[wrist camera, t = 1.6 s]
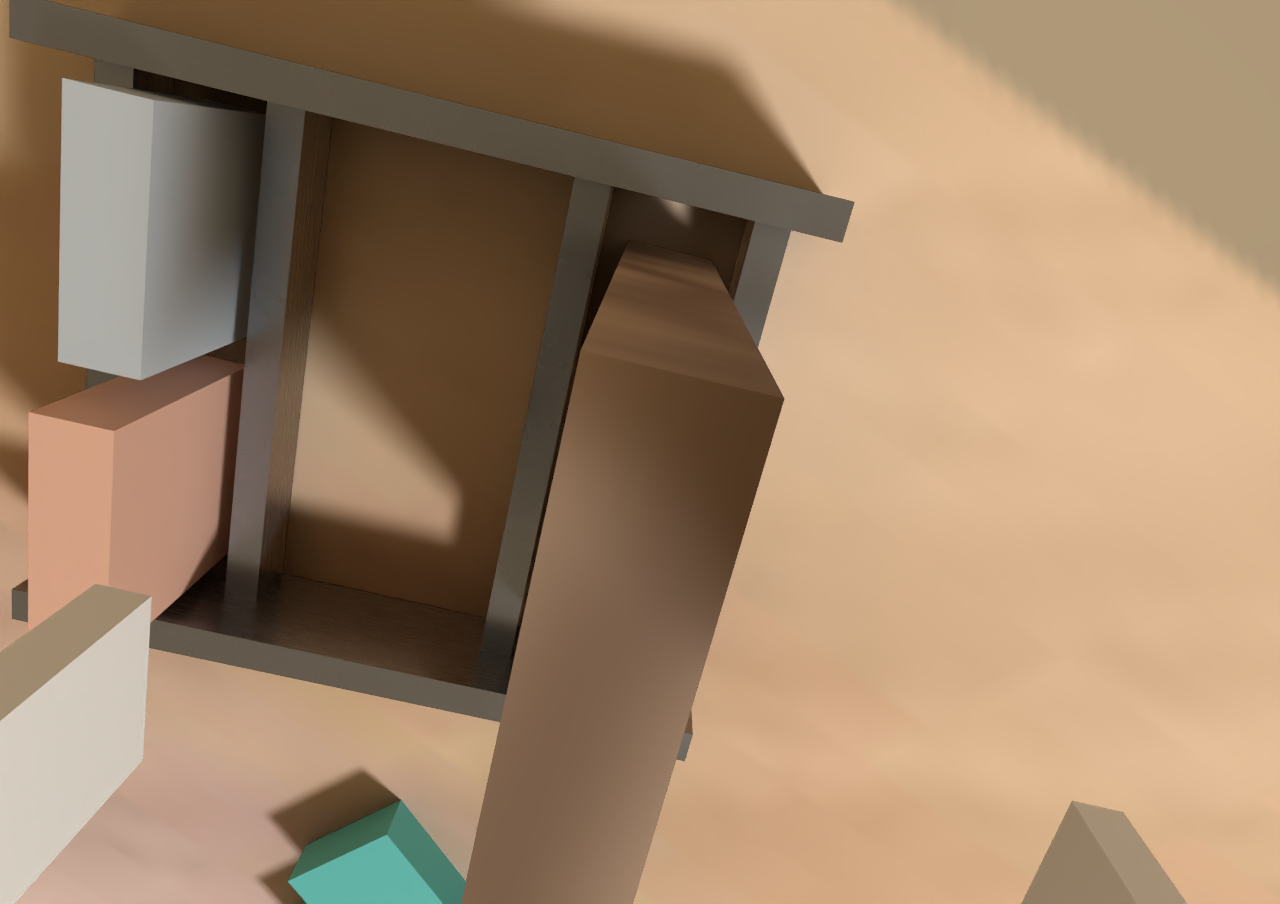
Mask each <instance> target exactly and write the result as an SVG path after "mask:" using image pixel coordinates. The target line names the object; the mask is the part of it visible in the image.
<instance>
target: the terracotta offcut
mask: <svg viewBox="0 0 1280 904" xmlns="http://www.w3.org/2000/svg"><path fill="white" fill-rule="evenodd" d="M244 365H245V364H241V363H236V362H232V361H228V360H223V359H219V358H215V357H210V356H206V355H201V356H199V357H196V358H194V359H192V360H189V361H187V362H184V363H182V364H179V365H177V366H174V367H172V368H170V369H167V370H165V371H162V372H160V373H157V374H155V375H152V376H150V377H148V378H145V379H143V380H137V379H132V378H128V377H123V376H120V377H117V378H115V379H112V380H109V381H107V382H104V383H102V384H99V385H97V386H94V387H92V388H89V389H86V390H84V391H81V392H79V393H76V394H74V395H71V396H68V397H66V398H63V399H61V400H58V401H56V402H53V403H51V404H48V405H45V406H43V407H40V408H38V409H35V410H33V411H30V412H29V459H28V632H29V631H31V630H32V629H33V628H35V627H36V626H38V625H39V624H40V623H42V622H43V621H44V620H46V619H47V618H49V617H50V616H51V615H53V614H54V613H56V612H57V611H58V610H60V609H61V608H62V607H64V606H65V605H67V604H68V603H69V602H71V601H72V600H74V599H75V598H76V597H78V596H79V595H80V594H82V593H83V592H85V591H86V590H87V589H89V588H90V587H92V586H93V585H94V584H99V585H104V586H108V587H113V588H117V589H122V590H126V591H131V592H135V593H140V594H144V595H149V596H152V600H151V618H150V623H151V622H152V621H153V620H154V619H155V618H156V617H158V616H159V615H160V614H161V613H162V612H163V611H164V610H165V609H166V608H168V607H169V606H170V605H171V604H172V603H173V602H174V601H175V600H176V599H178V598H179V597H180V596H181V595H182V594H183V593H184V592H185V591H186V590H188V589H189V588H190V587H191V586H192V585H193V584H194V583H195V582H197V581H198V580H199V579H200V578H201V577H202V576H203V575H204V574H205V573H207V572H208V571H209V570H210V569H211V568H212V567H213V566H214V565H215V564H217V563H218V562H219V561H220V560H221V559H222V558H223V557H224V556H225V555H227V554H228V550H229V538H230V527H231V515H232V504H233V492H234V480H235V469H236V457H237V446H238V434H239V423H240V411H241V400H242V388H243V376H244Z"/></svg>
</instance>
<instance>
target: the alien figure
mask: <svg viewBox="0 0 1280 904" xmlns="http://www.w3.org/2000/svg"><path fill="white" fill-rule="evenodd" d="M288 883H289V884H290V885H291V886H292V887H293V888H294V889H295V890H296V892H297V893H298V894H299V895H300V896H301V897H302V898H303V900H304V901H305V902H303V903H301V904H461V903H462V898H463V893H464V889H465V884H466V881H465V880H464V879H463V877H462V876H461V875H460V874H459V872H458V871H457V870H456V869H455V867H454V866H453V865H452V864H451V862H450V861H449V860H448V858H447V857H446V856H445V855H444V853H443V852H442V851H441V850H440V848H439V847H438V846H437V845H436V843H435V842H434V841H433V840H432V838H431V837H430V836H429V835H428V833H427V832H426V831H425V829H424V828H423V827H422V826H421V824H420V823H419V822H418V821H417V819H416V818H415V817H414V816H413V814H412V813H411V812H410V811H409V809H408V808H407V807H406V806H405V804H404V803H403V802H402V800H400V801H398V802H396V803H393V804H391V805H389V806H387V807H385V808H383V809H381V810H379V811H377V812H375V813H373V814H370V815H368V816H366V817H364V818H362V819H360V820H358V821H356V822H354V823H352V824H350V825H347V826H345V827H343V828H341V829H339V830H337V831H335V832H333V833H331V834H329V835H326V836H324V837H322V838H320V839H318V840H316V841H314V842H312V843H310V844H308V845H306V847H305V849H304V851H303V853H302V854H301V856H300V858H299V860H298V862H297V864H296V866H295V868H294V870H293V872H292V874H291V876H290V878H289V879H288Z"/></svg>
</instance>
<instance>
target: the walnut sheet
mask: <svg viewBox="0 0 1280 904" xmlns="http://www.w3.org/2000/svg"><path fill="white" fill-rule="evenodd" d="M783 401H784V397H783V395H782V393H781V391H780V389H779V387H778V386H777V384H776V382H775V380H774V378H773V376H772V374H771V372H770V370H769V369H768V367H767V365H766V363H765V361H764V359H763V357H762V355H761V353H760V352H759V350H758V348H757V346H756V344H755V342H754V340H753V338H752V336H751V335H750V333H749V331H748V329H747V327H746V325H745V323H744V321H743V319H742V318H741V316H740V314H739V312H738V310H737V308H736V306H735V304H734V302H733V301H732V299H731V297H730V295H729V293H728V291H727V289H726V287H725V285H724V284H723V282H722V280H721V278H720V276H719V274H718V272H717V270H716V268H715V267H714V265H713V263H712V261H711V259H707V258H702V257H698V256H694V255H690V254H686V253H682V252H678V251H674V250H670V249H665V248H661V247H657V246H653V245H649V244H645V243H641V242H637V241H633V240H629V241H628V243H627V246H626V248H625V250H624V252H623V255H622V257H621V259H620V262H619V264H618V266H617V268H616V271H615V273H614V275H613V278H612V280H611V282H610V284H609V287H608V289H607V291H606V294H605V296H604V298H603V300H602V303H601V305H600V307H599V309H598V312H597V314H596V316H595V319H594V321H593V323H592V325H591V328H590V330H589V332H588V335H587V337H586V339H585V341H584V344H583V346H582V348H581V351H580V355H579V360H578V365H577V369H576V374H575V379H574V383H573V388H572V393H571V397H570V402H569V406H568V411H567V416H566V420H565V425H564V430H563V434H562V439H561V444H560V448H559V453H558V457H557V462H556V467H555V471H554V476H553V481H552V485H551V490H550V495H549V499H548V504H547V508H546V513H545V518H544V522H543V527H542V532H541V536H540V541H539V546H538V550H537V555H536V559H535V564H534V569H533V573H532V578H531V583H530V587H529V592H528V597H527V601H526V606H525V610H524V615H523V620H522V624H521V629H520V634H519V638H518V643H517V648H516V652H515V657H514V661H513V666H512V671H511V675H510V680H509V685H508V689H507V694H506V699H505V703H504V708H503V712H502V717H501V722H500V726H499V731H498V736H497V740H496V745H495V750H494V754H493V759H492V764H491V768H490V773H489V777H488V782H487V787H486V791H485V796H484V801H483V805H482V810H481V815H480V819H479V824H478V828H477V833H476V838H475V842H474V847H473V852H472V856H471V861H470V866H469V870H468V875H467V879H466V884H465V889H464V893H463V898H462V903H461V904H633V902H634V898H635V895H636V892H637V888H638V885H639V882H640V878H641V875H642V871H643V868H644V865H645V861H646V858H647V855H648V851H649V848H650V845H651V841H652V838H653V835H654V831H655V828H656V825H657V821H658V818H659V815H660V811H661V808H662V805H663V801H664V798H665V795H666V791H667V788H668V785H669V781H670V778H671V775H672V771H673V768H674V765H675V761H676V758H677V755H678V751H679V748H680V745H681V741H682V738H683V735H684V731H685V728H686V725H687V721H688V718H689V715H690V711H691V708H692V705H693V701H694V698H695V695H696V691H697V688H698V685H699V681H700V678H701V675H702V671H703V668H704V665H705V661H706V658H707V655H708V651H709V648H710V645H711V641H712V638H713V635H714V631H715V628H716V625H717V621H718V618H719V615H720V611H721V608H722V605H723V601H724V598H725V595H726V591H727V588H728V585H729V581H730V578H731V575H732V571H733V568H734V565H735V561H736V558H737V555H738V551H739V548H740V545H741V541H742V538H743V535H744V531H745V528H746V525H747V521H748V518H749V515H750V511H751V508H752V505H753V501H754V498H755V495H756V491H757V488H758V485H759V481H760V478H761V475H762V471H763V468H764V465H765V461H766V458H767V455H768V451H769V448H770V445H771V441H772V438H773V435H774V431H775V428H776V425H777V421H778V418H779V415H780V411H781V408H782V405H783Z"/></svg>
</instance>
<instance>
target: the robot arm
mask: <svg viewBox="0 0 1280 904" xmlns="http://www.w3.org/2000/svg"><path fill="white" fill-rule="evenodd" d="M151 600H152V596H149V595H144V594H140V593H135V592H131V591H126V590H122V589H117V588H113V587H108V586H104V585H99V584H94V585H93V586H92V587H90V588H89V589H87V590H86V591H85V592H83V593H82V594H80V595H79V596H78V597H76V598H75V599H74V600H72V601H71V602H69V603H68V604H67V605H65V606H64V607H62V608H61V609H60V610H58V611H57V612H56V613H54V614H53V615H51V616H50V617H49V618H47V619H46V620H44V621H43V622H42V623H40V624H39V625H38V626H36V627H35V628H33V629H32V630H31V631H29V632H28V633H26V634H25V635H24V636H22V637H21V638H20V639H18V640H17V641H15V642H14V643H13V644H11V645H10V646H8V647H7V648H6V649H4V650H3V651H2V652H0V904H14V903H15V902H16V901H17V900H18V899H19V898H20V897H21V896H22V894H23V893H24V892H25V891H26V890H27V889H28V888H29V887H30V885H31V884H32V883H33V882H34V881H35V880H36V879H37V878H38V877H39V875H40V874H41V873H42V872H43V871H44V870H45V869H46V868H47V866H48V865H49V864H50V863H51V862H52V861H53V860H54V859H55V857H56V856H57V855H58V854H59V853H60V852H61V851H62V850H63V849H64V847H65V846H66V845H67V844H68V843H69V842H70V841H71V840H72V838H73V837H74V836H75V835H76V834H77V833H78V832H79V831H80V830H81V828H82V827H83V826H84V825H85V824H86V823H87V822H88V821H89V819H90V818H91V817H92V816H93V815H94V814H95V813H96V812H97V810H98V809H99V808H100V807H101V806H102V805H103V804H104V803H105V802H106V800H107V799H108V798H109V797H110V796H111V795H112V794H113V793H114V791H115V790H116V789H117V788H118V787H119V786H120V785H121V784H122V782H123V781H124V780H125V779H126V778H127V777H128V776H129V775H130V774H131V772H132V771H133V770H134V769H135V768H136V767H137V766H138V765H139V763H140V762H141V761H142V760H143V747H144V729H145V711H146V692H147V674H148V655H149V637H150V618H151ZM1022 904H1187V903H1186V901H1185V900H1184V898H1183V897H1182V895H1181V894H1180V893H1179V891H1178V890H1177V888H1176V887H1175V885H1174V884H1173V883H1172V881H1171V880H1170V878H1169V877H1168V875H1167V874H1166V873H1165V871H1164V870H1163V868H1162V867H1161V865H1160V864H1159V863H1158V861H1157V860H1156V858H1155V857H1154V855H1153V854H1152V853H1151V851H1150V850H1149V848H1148V847H1147V845H1146V844H1145V843H1144V841H1143V840H1142V838H1141V837H1140V835H1139V834H1138V833H1137V831H1136V830H1135V828H1134V827H1133V825H1132V824H1131V823H1130V821H1129V820H1128V818H1127V817H1126V815H1125V814H1124V813H1123V812H1120V811H1115V810H1111V809H1106V808H1102V807H1097V806H1093V805H1088V804H1084V803H1079V802H1075V801H1072V802H1071V804H1070V806H1069V808H1068V810H1067V812H1066V814H1065V816H1064V818H1063V820H1062V822H1061V824H1060V826H1059V828H1058V830H1057V832H1056V835H1055V837H1054V839H1053V841H1052V843H1051V845H1050V847H1049V849H1048V851H1047V853H1046V855H1045V857H1044V859H1043V861H1042V863H1041V865H1040V867H1039V869H1038V871H1037V873H1036V875H1035V877H1034V879H1033V881H1032V883H1031V885H1030V887H1029V889H1028V891H1027V893H1026V895H1025V897H1024V900H1023V902H1022Z"/></svg>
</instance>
